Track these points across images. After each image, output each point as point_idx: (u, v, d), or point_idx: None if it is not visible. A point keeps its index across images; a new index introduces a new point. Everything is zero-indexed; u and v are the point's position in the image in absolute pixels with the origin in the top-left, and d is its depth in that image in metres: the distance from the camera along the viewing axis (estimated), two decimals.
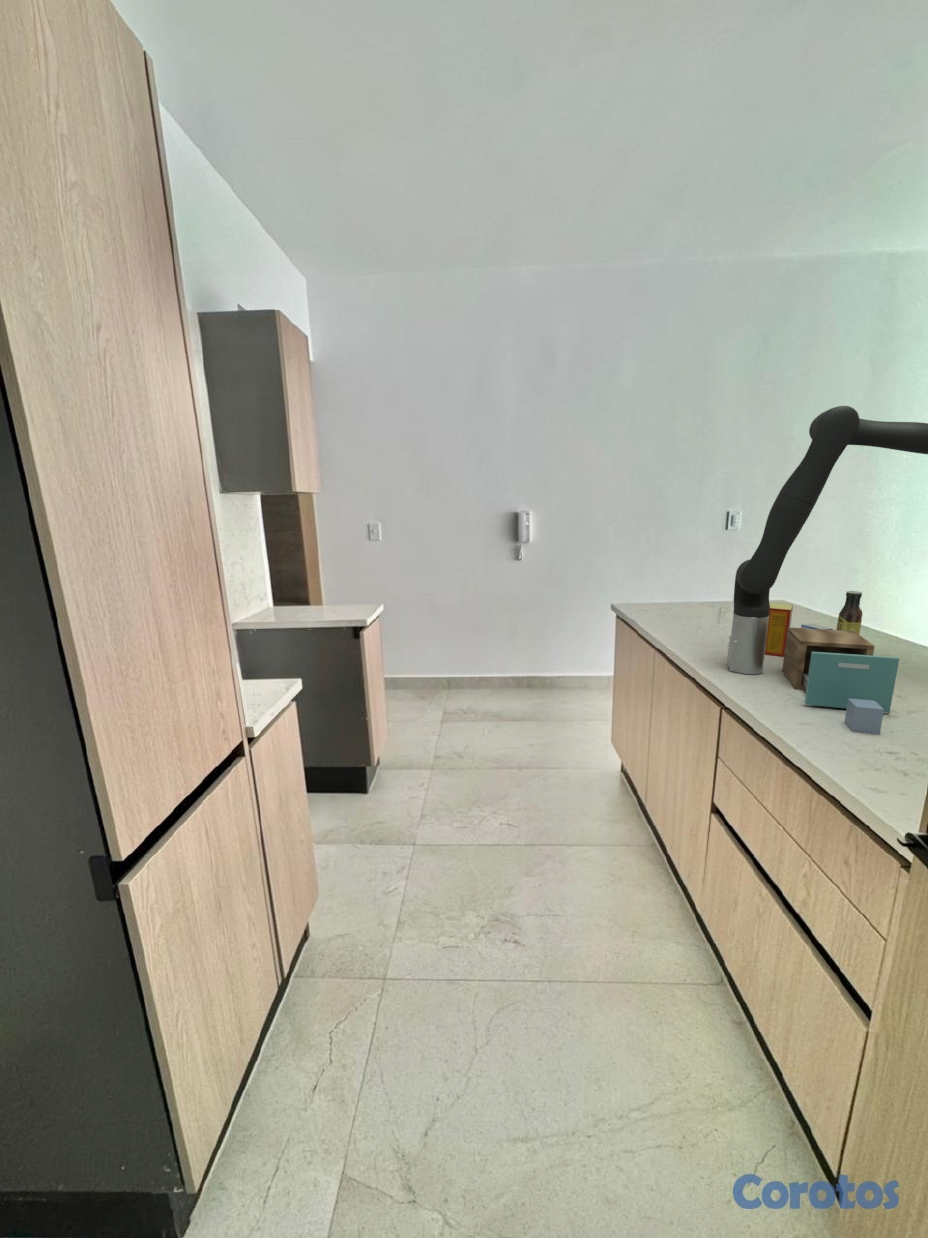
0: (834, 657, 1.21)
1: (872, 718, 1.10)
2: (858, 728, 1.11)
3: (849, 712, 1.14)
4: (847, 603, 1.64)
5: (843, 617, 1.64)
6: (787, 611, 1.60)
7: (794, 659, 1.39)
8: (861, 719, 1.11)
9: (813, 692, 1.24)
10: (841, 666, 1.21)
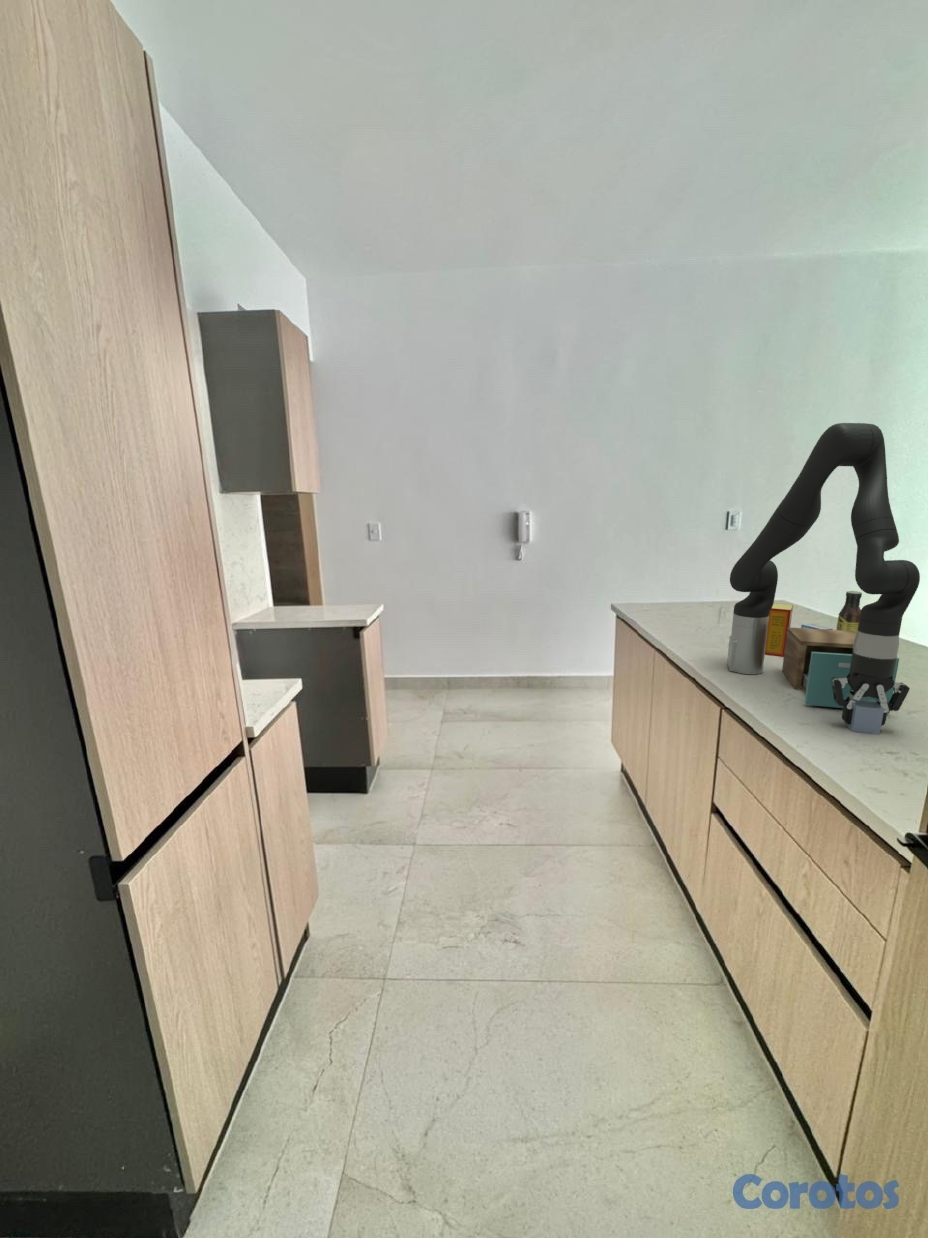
0: (834, 657, 1.21)
1: (872, 717, 1.10)
2: (858, 728, 1.11)
3: None
4: (847, 603, 1.64)
5: (843, 617, 1.64)
6: (787, 611, 1.60)
7: (794, 659, 1.39)
8: (861, 718, 1.11)
9: (813, 692, 1.24)
10: (841, 666, 1.21)
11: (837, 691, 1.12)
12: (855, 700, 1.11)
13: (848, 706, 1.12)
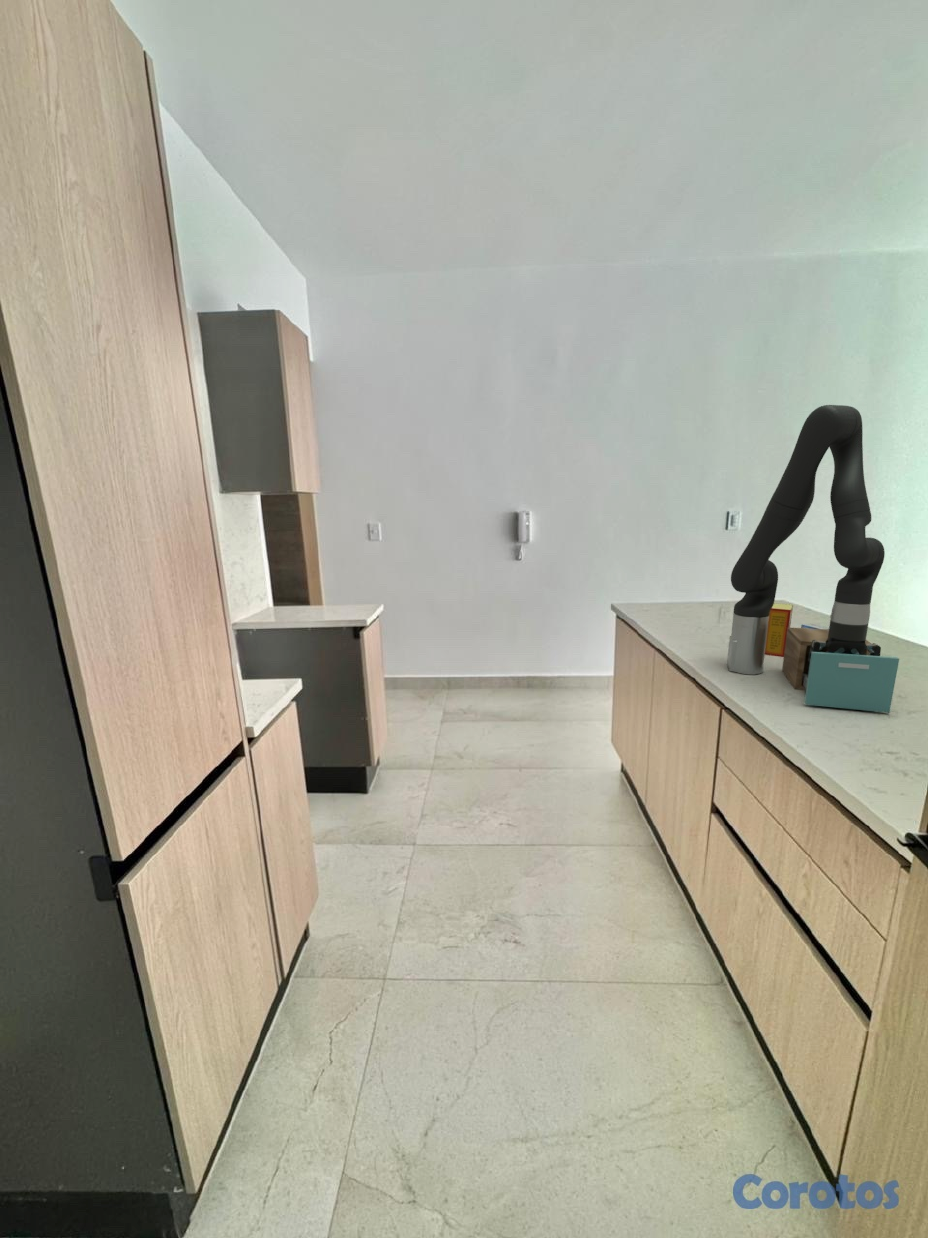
0: (834, 657, 1.21)
1: None
2: None
3: None
4: None
5: None
6: (787, 611, 1.60)
7: (794, 659, 1.39)
8: None
9: (813, 692, 1.24)
10: (841, 666, 1.21)
11: (814, 651, 1.27)
12: None
13: None
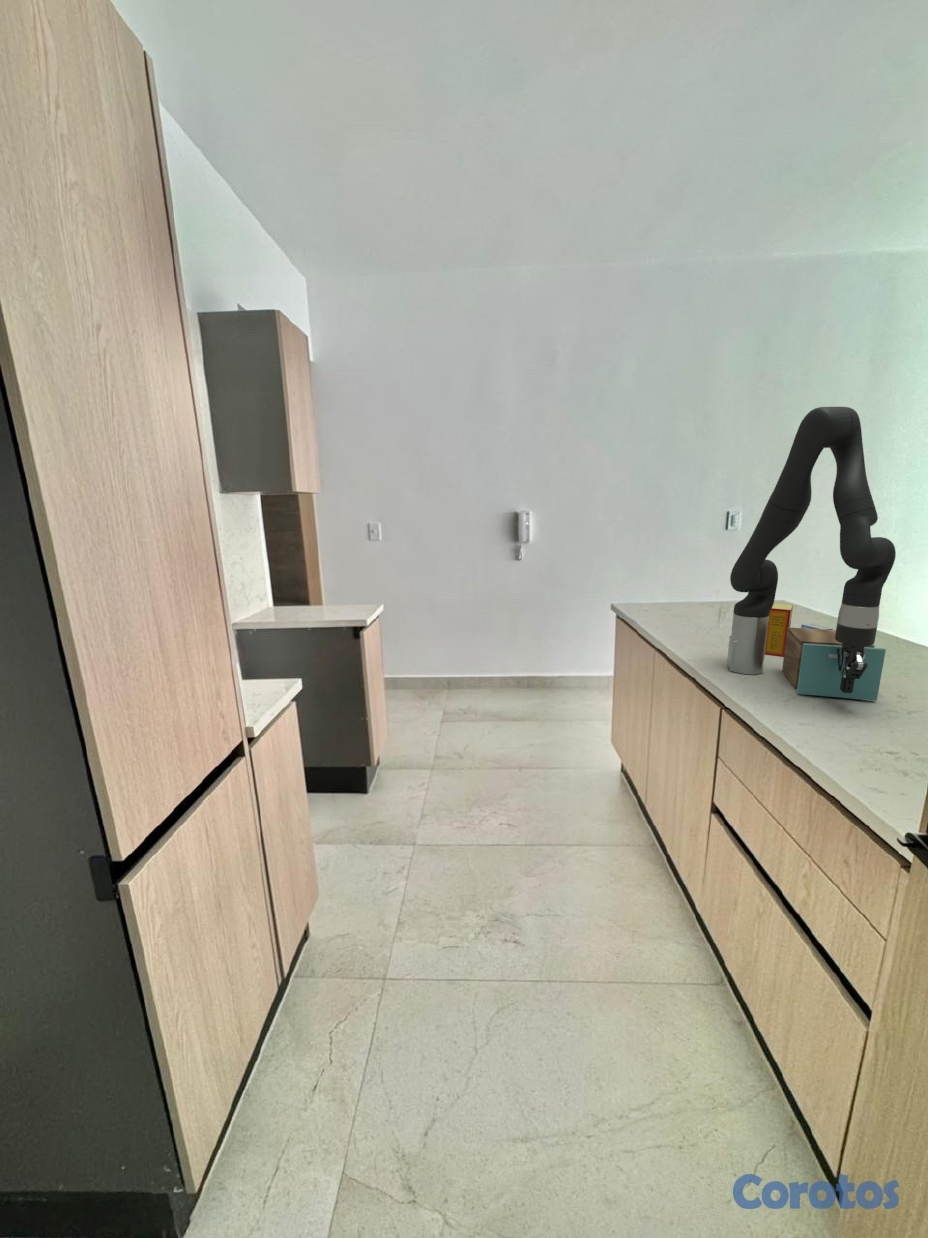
0: (825, 648, 1.27)
1: None
2: None
3: None
4: None
5: None
6: (787, 611, 1.60)
7: (794, 659, 1.39)
8: None
9: (805, 682, 1.31)
10: (831, 657, 1.27)
11: None
12: None
13: None
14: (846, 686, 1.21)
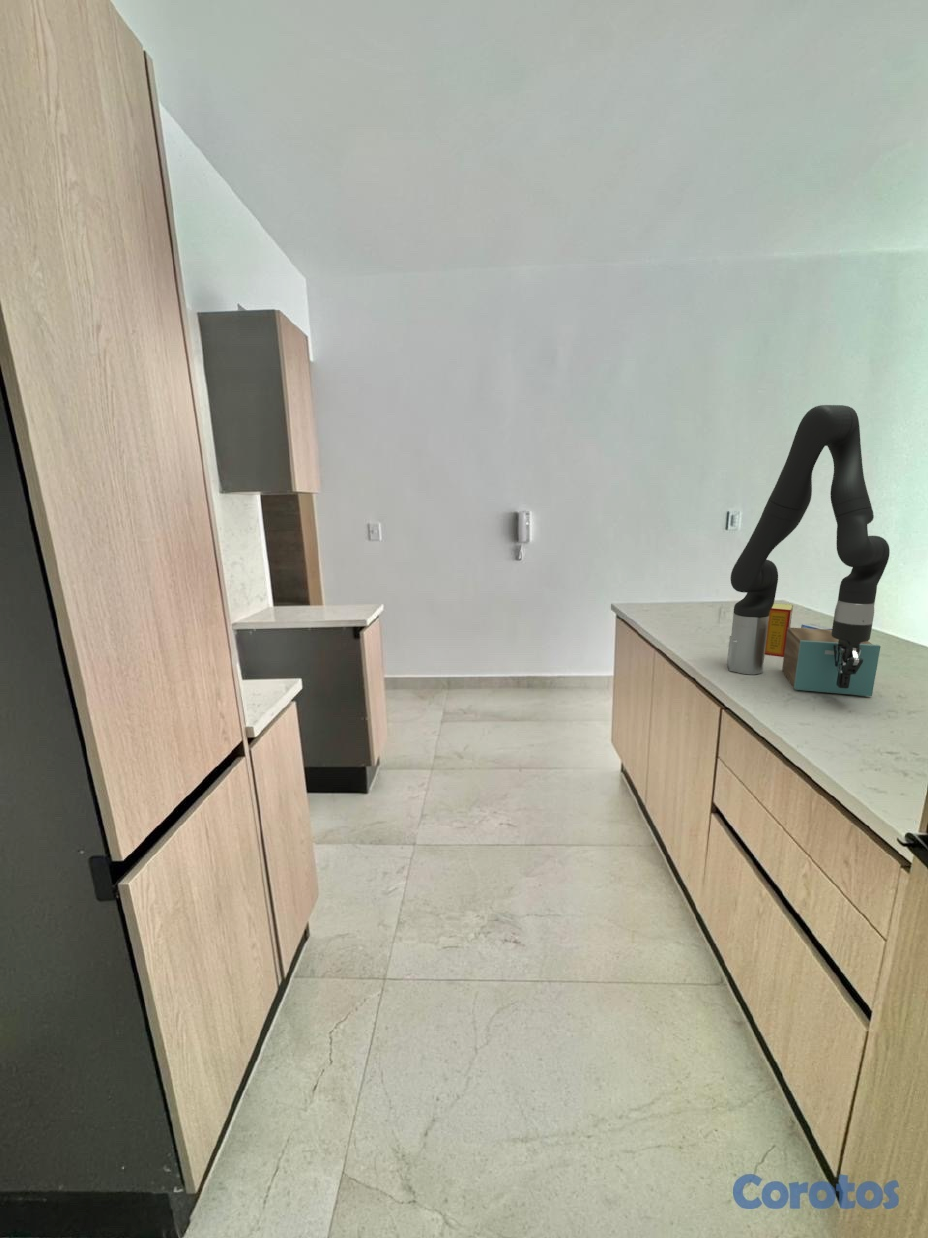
0: (821, 644, 1.30)
1: None
2: None
3: None
4: None
5: None
6: (787, 611, 1.60)
7: (794, 659, 1.39)
8: None
9: (801, 678, 1.34)
10: (827, 653, 1.30)
11: None
12: None
13: None
14: (842, 681, 1.24)
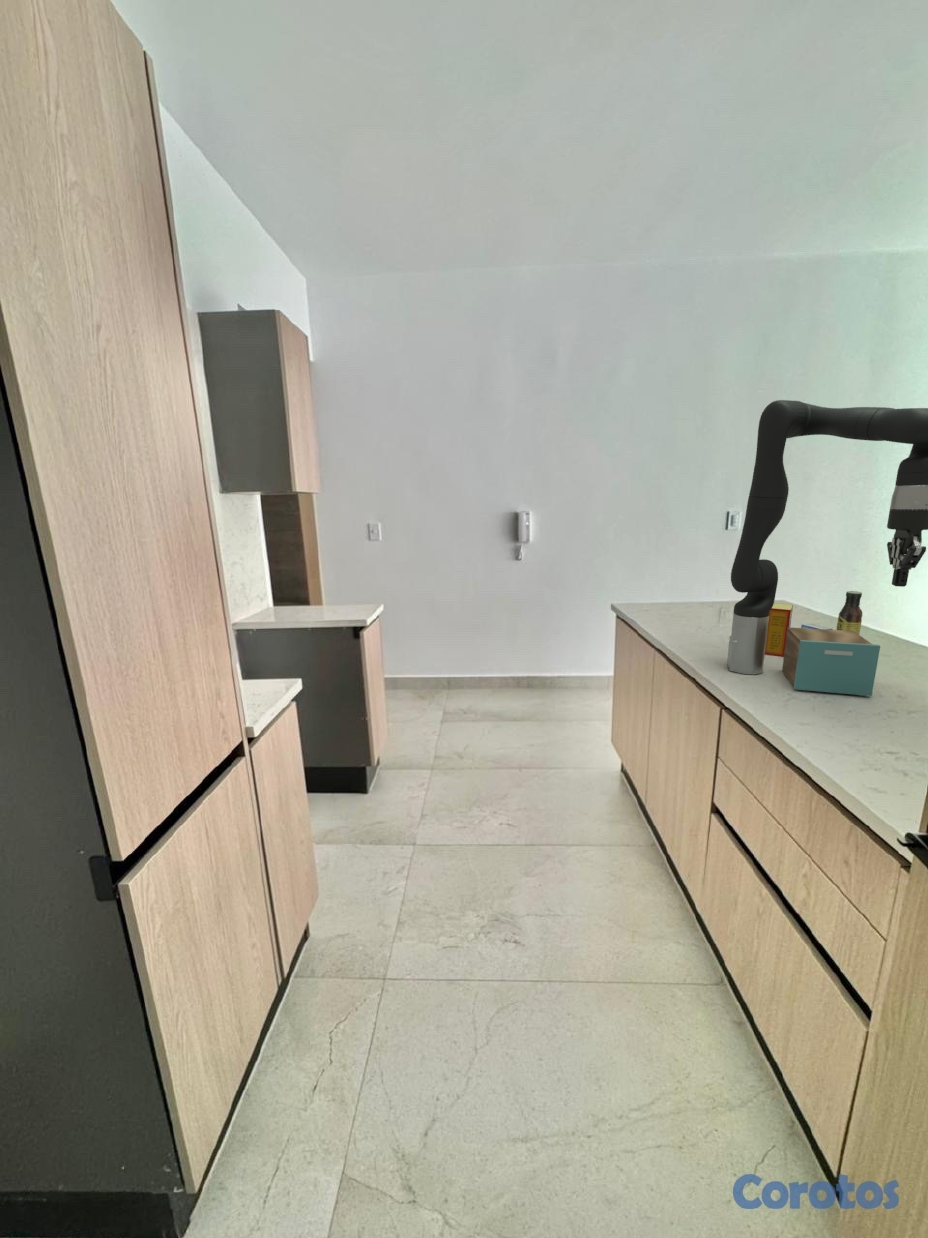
0: (821, 644, 1.30)
1: None
2: None
3: None
4: (847, 603, 1.64)
5: (843, 617, 1.64)
6: (787, 611, 1.60)
7: (794, 659, 1.39)
8: None
9: (801, 677, 1.34)
10: (827, 653, 1.30)
11: None
12: None
13: None
14: (900, 578, 1.12)
